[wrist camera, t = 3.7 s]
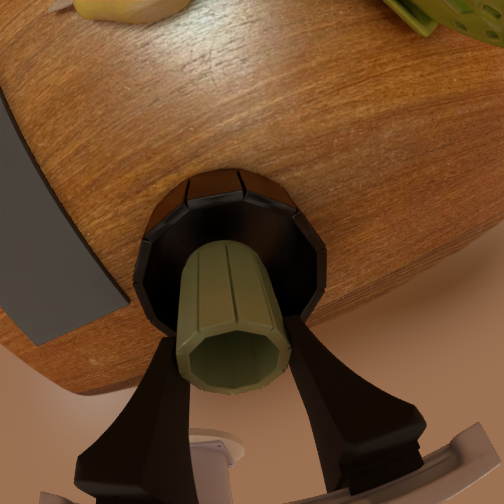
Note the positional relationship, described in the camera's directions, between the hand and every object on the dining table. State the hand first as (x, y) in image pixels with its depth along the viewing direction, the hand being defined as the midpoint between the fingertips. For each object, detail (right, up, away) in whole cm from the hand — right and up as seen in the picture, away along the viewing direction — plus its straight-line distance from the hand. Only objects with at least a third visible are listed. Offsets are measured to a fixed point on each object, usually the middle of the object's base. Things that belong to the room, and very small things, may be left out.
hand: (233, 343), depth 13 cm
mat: (-27, +24, -8) cm, 38 cm away
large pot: (-1, +4, +7) cm, 8 cm away
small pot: (-1, +3, +4) cm, 5 cm away
